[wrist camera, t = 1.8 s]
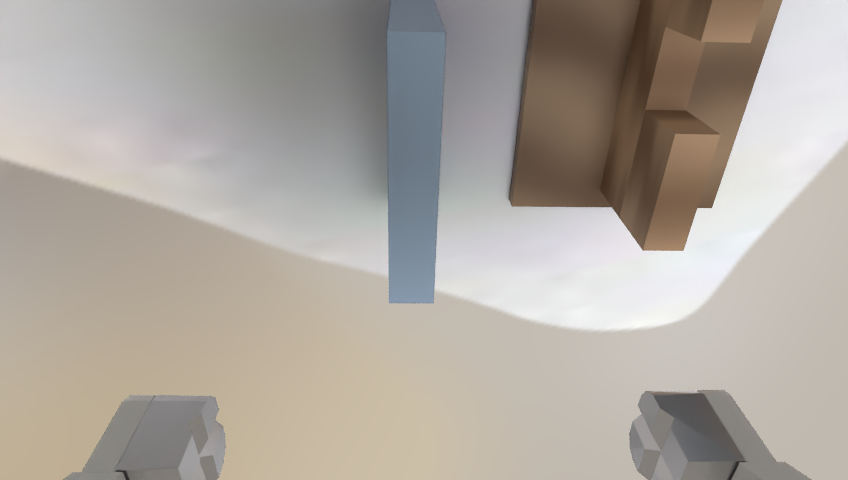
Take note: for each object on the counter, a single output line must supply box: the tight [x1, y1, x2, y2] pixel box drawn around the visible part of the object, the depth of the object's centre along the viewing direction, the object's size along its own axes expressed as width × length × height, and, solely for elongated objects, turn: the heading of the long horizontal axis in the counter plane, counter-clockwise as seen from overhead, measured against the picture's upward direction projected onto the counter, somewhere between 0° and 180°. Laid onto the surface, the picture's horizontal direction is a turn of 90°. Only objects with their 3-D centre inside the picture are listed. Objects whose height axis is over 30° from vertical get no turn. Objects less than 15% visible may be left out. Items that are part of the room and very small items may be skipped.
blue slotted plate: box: [387, 0, 446, 303], centre depth 23 cm, size 10×2×9 cm, turn 178°
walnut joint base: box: [509, 0, 782, 251], centre depth 23 cm, size 16×11×7 cm
